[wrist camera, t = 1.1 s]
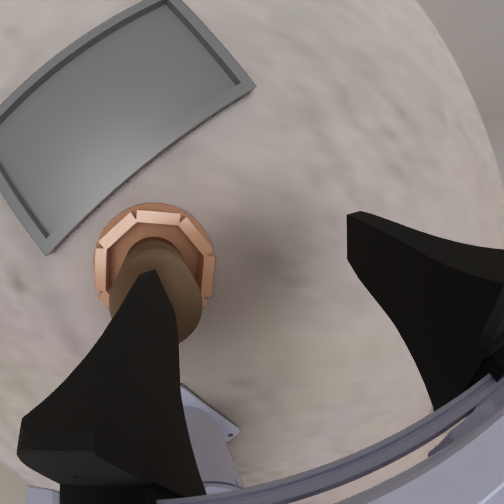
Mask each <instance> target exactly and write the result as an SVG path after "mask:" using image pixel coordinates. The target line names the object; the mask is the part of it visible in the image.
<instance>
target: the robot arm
mask: <svg viewBox="0 0 504 504" xmlns="http://www.w3.org/2000/svg"><path fill="white" fill-rule="evenodd" d="M347 259H348V261H349V263H350V265H351V266H352V268H353V270H354V271H355V273H356V275H357V276H358V278H359V279H360V281H361V282H362V283H363V285H364V286H365V287H366V288H367V290H368V291H369V292H370V293H371V295H372V296H373V297H374V298H375V300H376V301H377V302H378V304H379V305H380V306H381V307H382V309H383V310H384V311H385V312H386V314H387V315H388V316H389V318H390V319H391V320H392V322H393V323H394V325H395V326H396V328H397V330H398V331H399V333H400V335H401V337H402V338H403V340H404V342H405V344H406V345H407V347H408V349H409V351H410V353H411V355H412V357H413V359H414V361H415V363H416V365H417V367H418V370H419V372H420V374H421V377H422V379H423V381H424V383H425V386H426V389H427V391H428V394H429V397H430V400H431V402H432V405H433V408H434V412H433V413H431V414H430V415H428V416H426V417H425V418H423V419H421V420H420V421H418V422H416V423H414V424H413V425H411V426H409V427H407V428H405V429H403V430H402V431H400V432H398V433H396V434H394V435H392V436H390V437H388V438H386V439H384V440H382V441H380V442H378V443H376V444H374V445H371V446H369V447H367V448H365V449H363V450H360V451H358V452H356V453H353V454H351V455H349V456H346V457H344V458H341V459H339V460H336V461H334V462H331V463H328V464H326V465H323V466H320V467H317V468H314V469H311V470H308V471H305V472H302V473H299V474H296V475H293V476H289V477H286V478H283V479H279V480H275V481H272V482H268V483H264V484H260V485H256V486H251V487H247V488H245V486H244V484H243V482H242V480H241V477H240V475H239V473H238V471H237V468H236V466H235V464H234V461H233V459H232V457H231V454H230V452H229V449H228V447H227V445H226V442H228V441H229V440H231V439H232V438H233V437H235V436H236V435H238V434H239V432H240V430H239V428H238V427H237V426H236V425H234V424H233V423H231V422H230V421H229V420H227V419H226V418H224V417H223V416H222V415H220V414H219V413H218V412H216V411H215V410H213V409H212V408H211V407H209V406H208V405H207V404H205V403H204V402H203V401H201V400H200V399H199V398H198V397H196V396H195V395H194V394H192V393H191V392H190V391H189V390H187V389H186V388H185V387H184V386H182V385H180V370H179V341H178V329H177V322H176V316H175V310H174V308H173V306H172V304H171V302H170V300H169V298H168V296H167V293H166V291H165V289H164V287H163V285H162V283H161V281H160V278H159V276H158V274H157V272H156V270H155V269H154V270H151V271H148V272H144V273H141V274H139V276H138V277H137V279H136V280H135V282H134V284H133V285H132V287H131V289H130V290H129V292H128V294H127V296H126V297H125V299H124V301H123V302H122V304H121V306H120V307H119V309H118V311H117V312H116V314H115V315H114V317H113V319H112V320H111V322H110V323H109V325H108V326H107V328H106V329H105V331H104V333H103V334H102V336H101V337H100V338H99V340H98V341H97V343H96V344H95V345H94V347H93V348H92V349H91V350H90V352H89V353H88V354H87V356H86V357H85V358H84V359H83V360H82V362H81V363H80V364H79V365H78V366H77V367H76V368H75V370H74V371H73V372H72V373H71V374H70V375H69V376H68V378H67V379H66V380H65V381H64V382H63V383H62V384H61V385H60V386H59V387H58V388H57V389H56V390H55V391H54V392H52V393H51V394H50V395H49V396H48V397H47V398H46V399H45V400H44V401H43V402H41V403H40V404H39V405H38V406H36V407H35V408H34V409H33V410H32V411H30V412H29V413H28V414H27V415H25V416H24V417H23V418H22V422H21V427H20V434H19V440H18V447H17V456H18V457H19V459H20V460H21V462H23V463H24V464H25V465H26V466H28V467H29V468H31V469H32V470H34V471H36V472H38V473H40V474H42V475H43V476H45V477H47V478H49V479H51V480H53V481H55V482H57V483H59V484H60V492H59V491H56V490H52V489H47V488H41V487H35V486H29V485H28V486H27V488H26V504H287V503H291V502H295V501H298V500H301V499H304V498H308V497H311V496H314V495H317V494H320V493H323V492H325V491H328V490H331V489H334V488H336V487H339V486H341V485H344V484H347V483H349V482H351V481H354V480H356V479H359V478H361V477H363V476H365V475H368V474H370V473H372V472H374V471H376V470H378V469H380V468H383V467H385V466H387V465H389V464H391V463H393V462H394V461H396V460H398V459H400V458H402V457H404V456H406V455H408V454H409V453H411V452H413V451H415V450H416V449H418V448H420V447H422V446H423V445H425V444H427V443H428V442H430V441H431V440H433V439H435V438H436V437H438V436H439V435H441V434H442V433H444V432H446V431H447V430H448V429H450V428H451V427H453V426H454V425H456V424H457V423H459V422H460V421H461V420H463V419H464V418H466V417H467V418H466V419H464V420H463V421H462V422H461V423H460V424H458V425H457V426H456V427H455V428H453V429H452V430H451V431H450V432H449V433H448V434H447V436H446V437H445V438H444V439H443V440H442V441H441V442H440V443H439V444H438V445H437V446H436V447H435V448H433V449H432V450H431V451H430V452H429V453H428V457H429V458H427V459H425V460H423V461H422V462H420V463H418V464H417V465H415V466H413V467H411V468H409V469H408V470H406V471H404V472H402V473H400V474H398V475H396V476H395V477H393V478H391V479H389V480H387V481H385V482H383V483H380V484H378V485H376V486H374V487H372V488H370V489H368V490H366V491H363V492H361V493H359V494H357V495H354V496H352V497H350V498H347V499H345V500H342V501H340V502H337V503H335V504H504V250H503V249H492V248H485V247H479V246H474V245H468V244H463V243H459V242H455V241H451V240H447V239H443V238H439V237H436V236H433V235H430V234H427V233H424V232H421V231H418V230H415V229H412V228H409V227H406V226H404V225H401V224H398V223H395V222H393V221H390V220H387V219H385V218H382V217H379V216H376V215H373V214H370V213H366V212H362V211H359V212H355V213H351V214H348V215H347ZM230 433H232V434H230ZM228 434H229V435H228Z"/></svg>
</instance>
